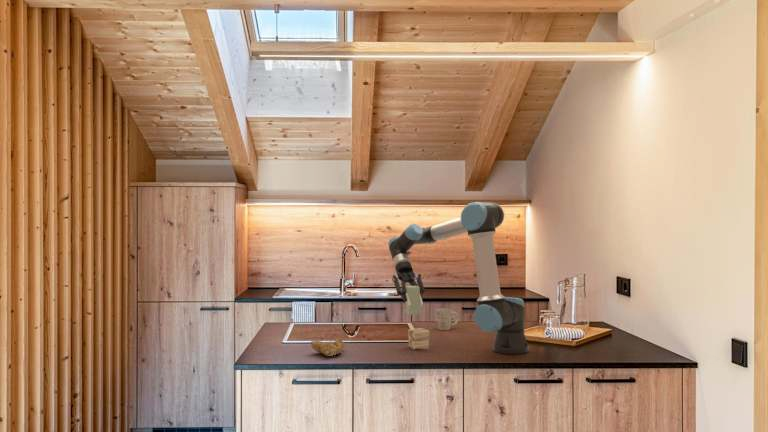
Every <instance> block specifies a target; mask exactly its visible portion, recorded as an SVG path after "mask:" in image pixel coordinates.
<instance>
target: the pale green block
mask: <svg viewBox="0 0 768 432" xmlns="http://www.w3.org/2000/svg"><path fill="white" fill-rule="evenodd" d="M406 293H407V294H408V297H409V300H410V303H411V306H410V309H408V307H407V304H406V302H405V306H404V307H405V314H406V315H409V316H412V315H413V316H414V315H416V316H417V315H421V308H420V287H419V286H412V285H405V294H406Z"/></svg>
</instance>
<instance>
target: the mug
mask: <svg viewBox="0 0 768 432" xmlns="http://www.w3.org/2000/svg"><path fill="white" fill-rule="evenodd" d="M435 314H436V321H437V329H438V330H440V331H449V330H451V326H455V325H457V323H458V322H459V319H460V317H459V314H458V313H457V312H456V311H453V309H452V308H449V307H448V308H445V307H444V308H443V307H442V308H436V309H435ZM454 315H455V317H456V319H455V321H454V323H452V318H453V317H452V316H454Z"/></svg>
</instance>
